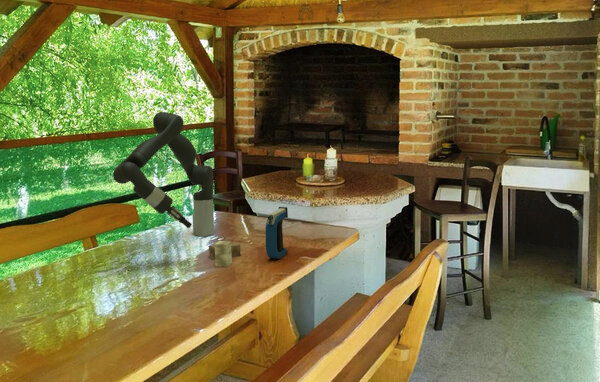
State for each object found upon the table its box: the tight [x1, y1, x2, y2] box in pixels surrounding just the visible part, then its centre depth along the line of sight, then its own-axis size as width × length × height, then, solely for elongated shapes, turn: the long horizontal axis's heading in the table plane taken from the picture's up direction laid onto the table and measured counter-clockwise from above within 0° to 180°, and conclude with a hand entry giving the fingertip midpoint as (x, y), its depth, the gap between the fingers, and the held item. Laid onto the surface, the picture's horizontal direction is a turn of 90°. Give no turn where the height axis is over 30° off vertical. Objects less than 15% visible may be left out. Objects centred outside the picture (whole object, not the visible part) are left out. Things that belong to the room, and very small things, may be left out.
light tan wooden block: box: [208, 242, 242, 261], centre depth 261 cm, size 5×5×12 cm
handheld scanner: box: [265, 206, 289, 260], centre depth 259 cm, size 5×16×20 cm, turn 161°
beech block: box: [214, 240, 233, 268], centre depth 249 cm, size 5×5×9 cm
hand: (189, 226), depth 254 cm, fingers closed
